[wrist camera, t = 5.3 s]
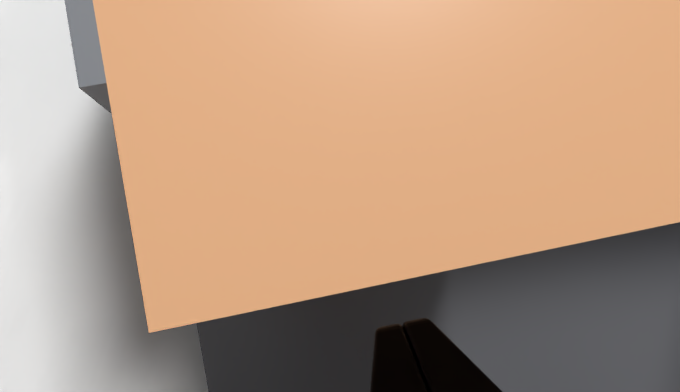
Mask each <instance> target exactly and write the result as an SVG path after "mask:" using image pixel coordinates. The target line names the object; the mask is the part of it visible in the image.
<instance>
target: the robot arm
mask: <svg viewBox="0 0 680 392" xmlns="http://www.w3.org/2000/svg"><path fill="white" fill-rule="evenodd" d="M369 392H503V391H502V390H501V389H500V388H498V387H497V386H496V385H495V384H494V383H493V382H492V381H491V380H490V379H489V378H488V377H487V376H486V375H485V374H484V373H483V372H482V371H481V370H480V369H479V368H478V367H477V366H476V365H475V364H474V363H473V362H472V361H471V360H470V359H469V358H468V357H467V356H466V355H465V354H464V353H463V352H462V351H461V350H460V349H459V348H458V347H457V346H456V345H455V344H454V343H453V342H452V341H451V340H450V339H449V338H448V337H447V336H446V335H445V334H444V333H443V332H442V331H441V330H440V329H439V328H438V327H437V326H436V325H435V324H434V323H433V322H432V321H431V320H429V319H428V318H420V319H416V320H411V321H406V322H404V323H403V325H402V326H401V325H400V324H392V325H388V326H383V327H379V328H377V329H376V331H375V338H374V349H373V359H372V370H371V380H370V391H369Z"/></svg>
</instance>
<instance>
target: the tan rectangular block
mask: <svg viewBox="0 0 680 392" xmlns="http://www.w3.org/2000/svg"><path fill="white" fill-rule="evenodd" d="M93 6H94V12H95V18H96V24H97V30H98V36H99V41H100V47H101V53H102V59H103V65H104V71H105V77H106V83H107V89H108V95H109V101H110V106H111V112H112V118H113V124H114V130H115V136H116V142H117V148H118V154H119V160H120V166H121V171H122V177H123V183H124V189H125V195H126V201H127V207H128V213H129V219H130V225H131V231H132V237H133V242H134V248H135V254H136V260H137V266H138V272H139V278H140V284H141V290H142V296H143V302H144V307H145V313H146V319H147V325H148V331H149V333H151V332H156V331H161V330H165V329H170V328H175V327H180V326H185V325H189V324H194V323H199V322H204V321H209V320H213V319H218V318H223V317H228V316H232V315H237V314H242V313H247V312H252V311H256V310H261V309H266V308H271V307H276V306H280V305H285V304H290V303H295V302H300V301H304V300H309V299H314V298H319V297H323V296H328V295H333V294H338V293H343V292H347V291H352V290H357V289H362V288H367V287H371V286H376V285H381V284H386V283H390V282H395V281H400V280H405V279H410V278H414V277H419V276H424V275H429V274H434V273H438V272H443V271H448V270H453V269H457V268H462V267H467V266H472V265H477V264H481V263H486V262H491V261H496V260H501V259H505V258H510V257H515V256H520V255H524V254H529V253H534V252H539V251H544V250H548V249H553V248H558V247H563V246H568V245H572V244H577V243H582V242H587V241H591V240H596V239H601V238H606V237H611V236H615V235H620V234H625V233H630V232H635V231H639V230H644V229H649V228H654V227H658V226H663V225H668V224H673V223H678V222H680V0H93Z"/></svg>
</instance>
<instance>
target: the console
mask: <svg viewBox="0 0 680 392" xmlns="http://www.w3.org/2000/svg"><path fill="white" fill-rule="evenodd" d="M65 5H66V11H67V17H68V23H69V30H70V36H71V42H72V48H73V54H74V60H75V66H76V72H77V78H78V84H79V88H80V89H81V90H83V91H84V92H85V93H86V94H88V95H89V96H90V97H91V98H93V99H94V100H95V101H96V102H98V103H99V104H100V105H101V106H103V107H104V108H105V109H107V110H108V111H109V112H110V113H112V112H111V106H110V101H109V95H108V89H107V83H106V77H105V71H104V65H103V59H102V53H101V47H100V41H99V36H98V30H97V24H96V18H95V12H94V6H93V0H65ZM420 318H428V319H429V320H431V321H432V322H433V323H434V324H435V325H436V326H437V327H438V328H439V329H440V330H441V331H442V332H443V333H444V334H445V335H446V336H447V337H448V338H449V339H450V340H451V341H452V342H453V343H454V344H455V345H456V346H457V347H458V348H459V349H460V350H461V351H462V352H463V353H464V354H465V355H466V356H467V357H468V358H469V359H470V360H471V361H472V362H473V363H474V364H475V365H476V366H477V367H478V368H479V369H480V370H481V371H482V372H483V373H484V374H485V375H486V376H487V377H488V378H489V379H490V380H491V381H492V382H493V383H494V384H495V385H496V386H497V387H498V388H500V389H501V390H502V391H503V392H680V222H678V223H673V224H668V225H663V226H658V227H654V228H649V229H644V230H639V231H635V232H630V233H625V234H620V235H615V236H611V237H606V238H601V239H596V240H591V241H587V242H582V243H577V244H572V245H568V246H563V247H558V248H553V249H548V250H544V251H539V252H534V253H529V254H524V255H520V256H515V257H510V258H505V259H501V260H496V261H491V262H486V263H481V264H477V265H472V266H467V267H462V268H457V269H453V270H448V271H443V272H438V273H434V274H429V275H424V276H419V277H414V278H410V279H405V280H400V281H395V282H390V283H386V284H381V285H376V286H371V287H367V288H362V289H357V290H352V291H347V292H343V293H338V294H333V295H328V296H323V297H319V298H314V299H309V300H304V301H300V302H295V303H290V304H285V305H280V306H276V307H271V308H266V309H261V310H256V311H252V312H247V313H242V314H237V315H232V316H228V317H223V318H218V319H213V320H209V321H204V322H199V323H197V327H198V333H199V339H200V344H201V350H202V356H203V361H204V367H205V373H206V378H207V384H208V389H209V392H369V391H370V380H371V370H372V359H373V349H374V338H375V331H376V329H377V328H379V327H383V326H388V325H392V324H400V325H401V326H402V325H403V323H404V322H406V321H411V320H416V319H420Z"/></svg>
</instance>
